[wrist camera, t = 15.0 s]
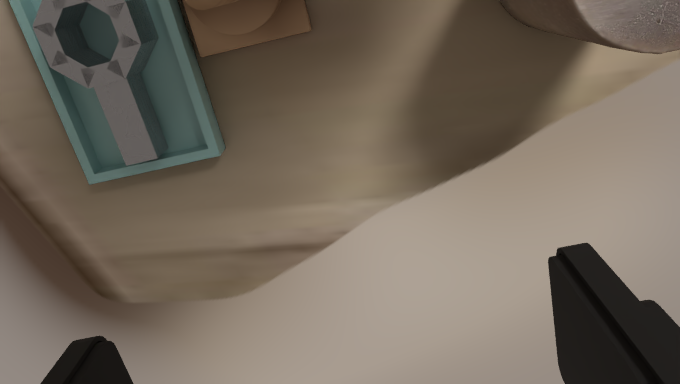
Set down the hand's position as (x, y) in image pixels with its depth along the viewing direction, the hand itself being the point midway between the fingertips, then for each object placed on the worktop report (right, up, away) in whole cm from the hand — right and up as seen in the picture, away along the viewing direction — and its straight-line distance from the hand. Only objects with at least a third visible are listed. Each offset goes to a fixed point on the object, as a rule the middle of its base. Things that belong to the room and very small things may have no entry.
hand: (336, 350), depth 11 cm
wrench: (-15, +12, +27) cm, 34 cm away
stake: (-7, +18, +26) cm, 32 cm away
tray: (-16, +14, +27) cm, 34 cm away
